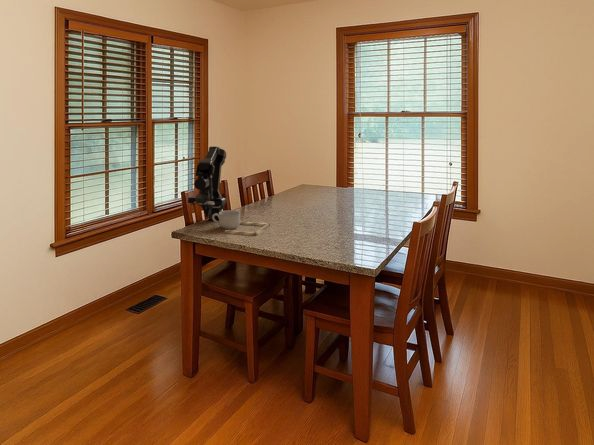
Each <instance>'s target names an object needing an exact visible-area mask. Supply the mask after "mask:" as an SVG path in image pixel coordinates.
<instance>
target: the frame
mask: <svg viewBox="0 0 594 445" xmlns="http://www.w3.org/2000/svg"><path fill="white" fill-rule="evenodd" d="M239 225H247V226H259V227H261V228H259V229H257V230H256V231H244V230H243V231H242V230H233V229H225V230H224V233H225V234H233V235H245V236H246V235H248V236H258V235H260V234H261V233H262V232H264V231H265V230H267V229H268V228H269V227H270V226H271V223H270V222H268V223H267V222H253V221H252V222H251V221H240V224H239Z"/></svg>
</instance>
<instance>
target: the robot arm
mask: <svg viewBox="0 0 594 445" xmlns="http://www.w3.org/2000/svg"><path fill="white" fill-rule="evenodd" d="M226 159H227V152H226V150H224V149H223V148H220V147H219V146H208V150H207V153H206V155H205V157H204V158H203V159H200V160H199V162H198V163H197V166H196V171H195V177H197V178H196V179H195V180H194V183H193V185H194V187H195V189H196V190H198V194H197V195H192V196H189V197H188V198H187V204H195V203H196V204H197V205H198V206H199V207H201V209H202V210H203V213H204V215H205V218H208V219H207V221H211V222H212V221H213V222H215V221H214V220H213V219H212V216H213V214H215V213H217V214H219V212H221V211H223V210H224V209H225V204H226V203H227V199H226V198H225V197H223V196H222V194H221V193H220V185H221V176H222V174H221V173H222V166H223V165H224V164H225V163H226V162H225V161H226ZM214 219H215V220H217V221H219V218H218V216H214Z"/></svg>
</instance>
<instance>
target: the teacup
mask: <svg viewBox="0 0 594 445" xmlns="http://www.w3.org/2000/svg"><path fill="white" fill-rule="evenodd" d="M214 216H218V218H219V221H217V220H215V219H214ZM212 219H213V220H214V221H213V222H215V223H216V224H218V225H219V226H221V227H222V228H223V229H225V230H234V229H237V227H238V226H240V225H241V224H240V222H241V212H240V211H237V210H222V211H221V212H219V214H217V213H215V214H213V216H212Z"/></svg>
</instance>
